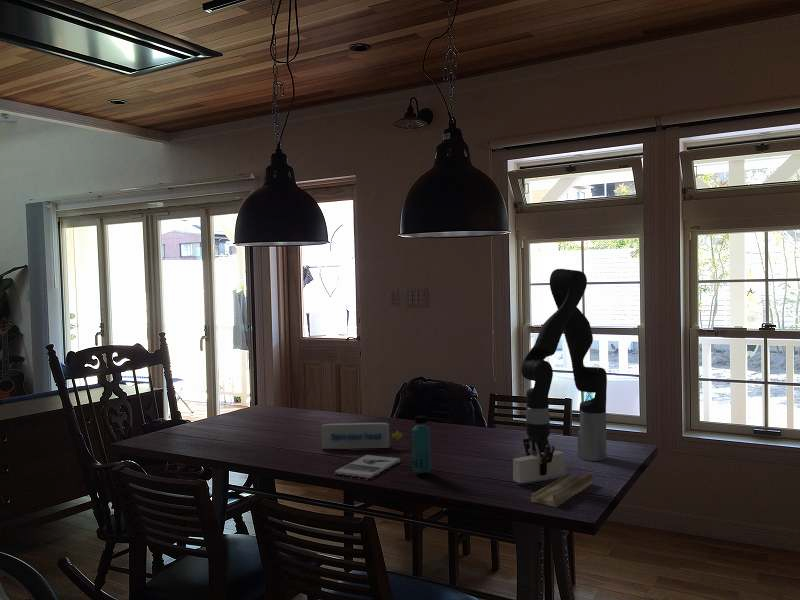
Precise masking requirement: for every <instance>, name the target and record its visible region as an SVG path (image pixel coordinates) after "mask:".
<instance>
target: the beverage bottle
mask: <svg viewBox="0 0 800 600" xmlns="http://www.w3.org/2000/svg"><path fill="white" fill-rule="evenodd" d="M427 418H428V417H427V416H426V415H416V416H414V423H415V424H417V425H414V426H413V427H412V429H411V434H412V437H411V438H412V439H411V445H412V456H411V457H412V461H411V462H412V470H413V472H416V473H429V472H431V470H432V457H431V455H432V453H431V452H432V450H431V428H430V427H429V426H428V425H425V424H426V423H428V421H427V420H428V419H427Z"/></svg>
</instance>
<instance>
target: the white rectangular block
mask: <svg viewBox="0 0 800 600" xmlns="http://www.w3.org/2000/svg"><path fill="white" fill-rule="evenodd" d="M543 453H544V452H543ZM543 453H541V454H543ZM548 458H549V457H548ZM542 459H544V456H543V457H542ZM565 467H566V466H565V452H562V451H559V450H554V453H553V457H552V462H550V463H547V474H546V475H543V476H542V475H540V461H539V457H538V456H537V454H536V455H535V454H534V455H530V456H526V455H525V456H520V457H513V458H512V478H513V479H512V480H513V482H514V481H515V482H516V483H518V484H522V483H528V482H533V481H538V480H542V479H547V478H553V477H558V476H562V475H563V476H564V475H566V474H565Z"/></svg>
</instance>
